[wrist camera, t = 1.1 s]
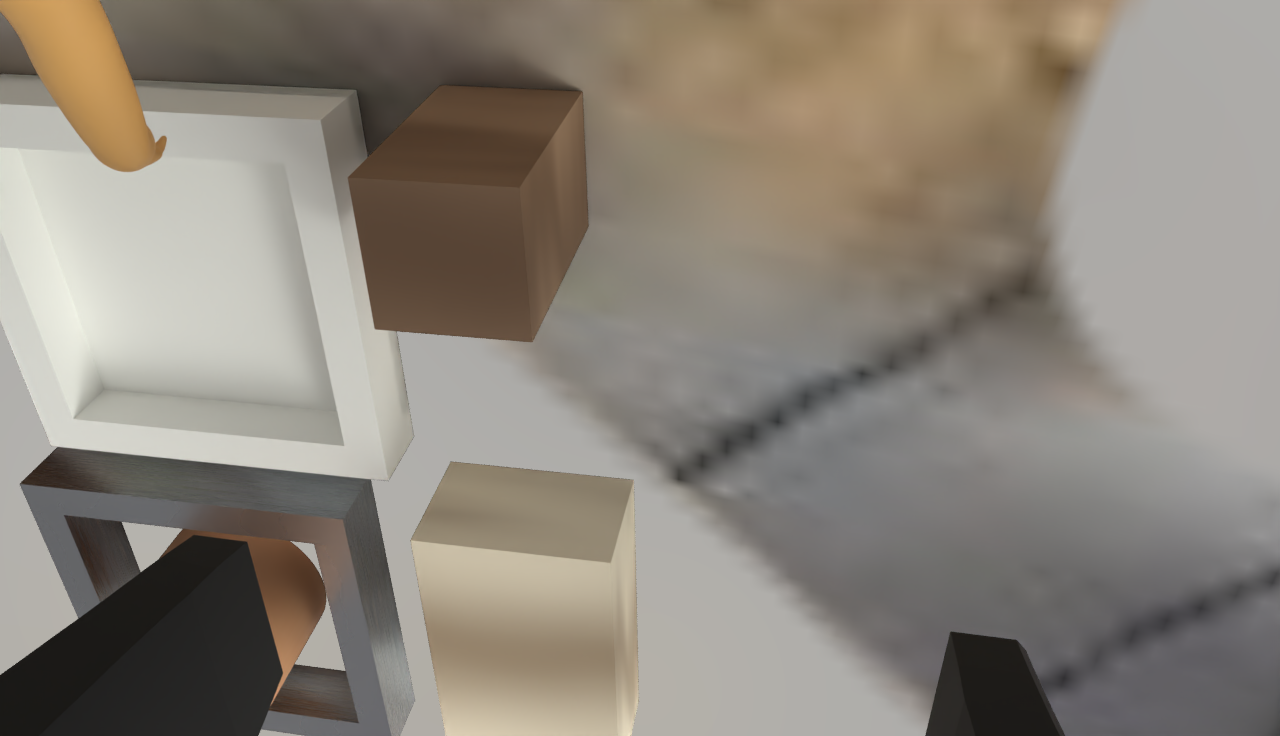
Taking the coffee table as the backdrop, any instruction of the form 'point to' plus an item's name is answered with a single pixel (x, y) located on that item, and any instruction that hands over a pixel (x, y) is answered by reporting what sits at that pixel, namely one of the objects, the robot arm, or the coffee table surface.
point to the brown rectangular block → (473, 212)
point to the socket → (250, 506)
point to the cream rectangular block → (530, 601)
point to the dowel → (281, 591)
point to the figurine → (86, 77)
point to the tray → (199, 282)
